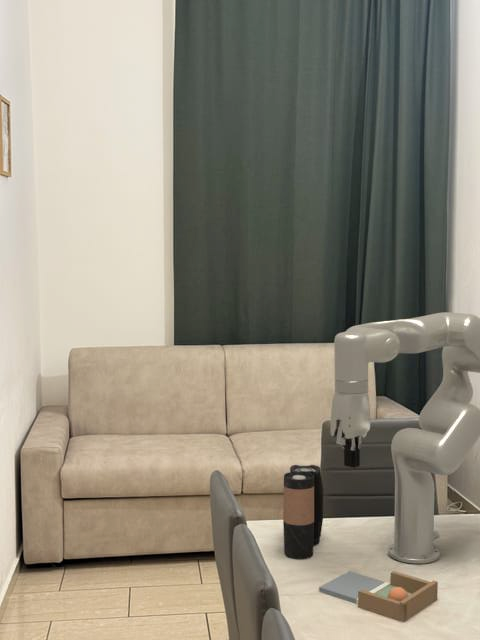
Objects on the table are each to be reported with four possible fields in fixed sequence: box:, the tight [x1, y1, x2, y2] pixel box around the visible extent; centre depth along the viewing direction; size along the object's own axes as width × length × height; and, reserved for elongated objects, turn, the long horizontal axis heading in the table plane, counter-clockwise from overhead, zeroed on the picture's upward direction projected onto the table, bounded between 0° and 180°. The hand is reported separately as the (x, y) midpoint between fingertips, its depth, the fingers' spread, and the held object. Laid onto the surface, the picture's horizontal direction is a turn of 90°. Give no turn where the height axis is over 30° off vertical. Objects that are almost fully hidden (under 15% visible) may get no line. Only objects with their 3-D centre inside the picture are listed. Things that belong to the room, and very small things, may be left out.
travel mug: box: [282, 472, 314, 560], centre depth 211 cm, size 8×8×20 cm
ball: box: [387, 587, 408, 601], centre depth 180 cm, size 4×4×4 cm
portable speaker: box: [289, 464, 324, 547], centre depth 219 cm, size 9×9×20 cm
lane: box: [318, 570, 439, 623], centre depth 186 cm, size 14×22×4 cm, turn 49°
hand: (351, 465), depth 194 cm, fingers closed
